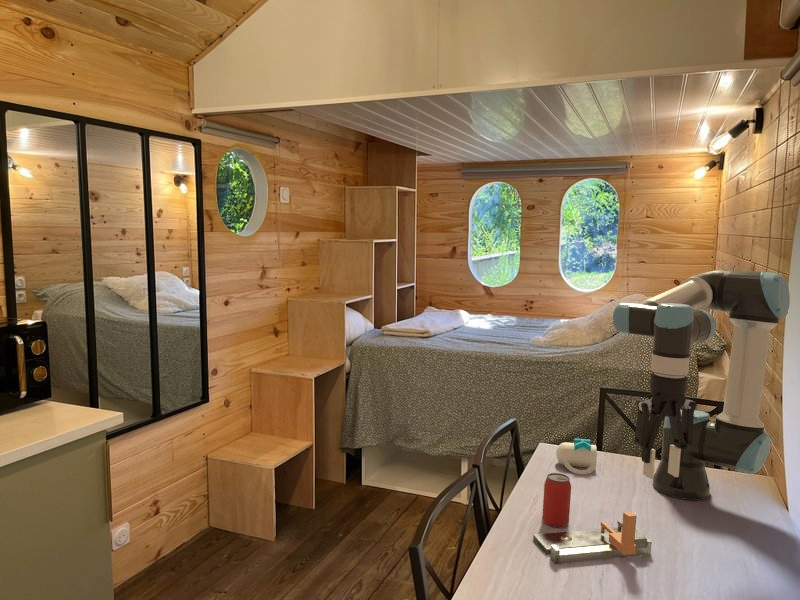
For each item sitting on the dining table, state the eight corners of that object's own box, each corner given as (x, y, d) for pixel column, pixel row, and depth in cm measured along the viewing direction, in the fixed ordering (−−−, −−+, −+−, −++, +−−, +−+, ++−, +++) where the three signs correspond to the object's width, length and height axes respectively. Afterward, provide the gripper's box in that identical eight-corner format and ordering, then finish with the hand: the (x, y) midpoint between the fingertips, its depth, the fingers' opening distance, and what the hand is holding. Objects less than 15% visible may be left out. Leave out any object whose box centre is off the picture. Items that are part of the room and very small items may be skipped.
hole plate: (622, 531, 152) (623, 526, 152) (639, 545, 145) (640, 540, 145) (533, 539, 146) (533, 534, 146) (546, 554, 140) (546, 549, 140)
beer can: (569, 530, 152) (572, 483, 150) (542, 526, 153) (545, 480, 152) (567, 518, 158) (570, 473, 157) (541, 515, 159) (544, 470, 158)
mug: (557, 432, 196) (596, 435, 194) (554, 453, 200) (592, 457, 198) (558, 458, 186) (599, 462, 184) (556, 480, 190) (596, 484, 188)
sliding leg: (607, 531, 148) (609, 493, 147) (635, 556, 137) (638, 515, 136) (595, 532, 147) (598, 494, 146) (623, 557, 136) (626, 516, 135)
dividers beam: (628, 536, 149) (630, 519, 149) (651, 555, 141) (652, 537, 140) (537, 544, 144) (538, 527, 144) (555, 564, 135) (556, 546, 135)
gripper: (694, 369, 140) (685, 466, 143) (621, 370, 136) (613, 471, 138) (718, 377, 133) (708, 479, 135) (641, 379, 129) (633, 484, 131)
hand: (660, 475), depth 137 cm, fingers open, 6 cm apart
